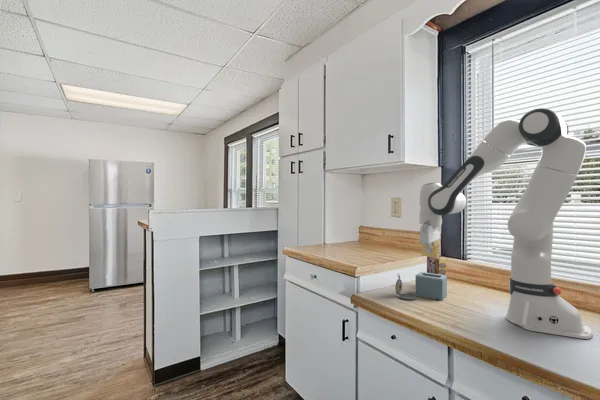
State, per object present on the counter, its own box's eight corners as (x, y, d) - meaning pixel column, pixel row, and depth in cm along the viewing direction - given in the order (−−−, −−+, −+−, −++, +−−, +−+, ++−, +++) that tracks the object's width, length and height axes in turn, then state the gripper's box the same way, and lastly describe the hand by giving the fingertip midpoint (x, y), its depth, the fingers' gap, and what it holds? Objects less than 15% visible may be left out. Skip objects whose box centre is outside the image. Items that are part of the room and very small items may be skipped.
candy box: (446, 291, 142) (446, 258, 142) (438, 292, 141) (438, 258, 141) (434, 286, 151) (434, 254, 151) (426, 286, 150) (426, 255, 150)
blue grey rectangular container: (446, 296, 135) (446, 275, 135) (442, 300, 129) (442, 279, 129) (420, 291, 142) (420, 271, 142) (415, 295, 135) (415, 275, 135)
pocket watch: (417, 300, 129) (417, 276, 129) (397, 300, 129) (397, 276, 129) (411, 294, 137) (411, 272, 137) (392, 294, 137) (392, 272, 137)
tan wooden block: (438, 256, 134) (438, 244, 134) (436, 257, 131) (436, 245, 131) (423, 254, 137) (423, 243, 137) (421, 255, 135) (421, 244, 135)
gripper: (431, 222, 124) (431, 256, 124) (443, 219, 140) (443, 249, 140) (415, 221, 128) (415, 254, 128) (428, 219, 144) (428, 248, 144)
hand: (430, 252), depth 134 cm, fingers closed on tan wooden block, 3 cm apart
